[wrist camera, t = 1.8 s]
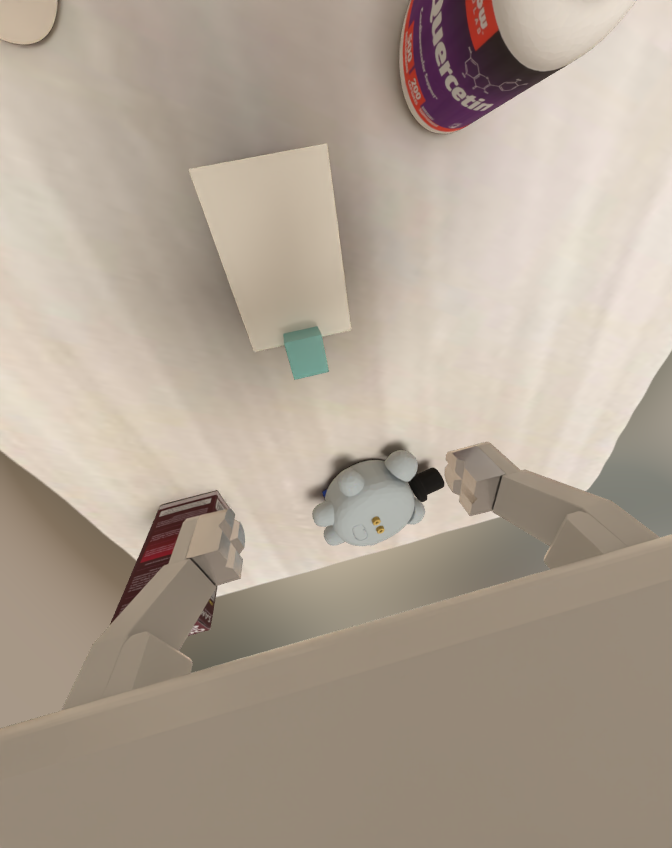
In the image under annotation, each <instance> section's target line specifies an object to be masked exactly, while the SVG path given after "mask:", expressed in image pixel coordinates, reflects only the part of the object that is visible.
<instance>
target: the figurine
mask: <svg viewBox="0 0 672 848" xmlns="http://www.w3.org/2000/svg"><path fill="white" fill-rule="evenodd" d="M417 468H418V463H417V460H416V458H415V457H414V456H413V455H412V454H411V453H410V452H408V451H406V450H398V451H395V452H393V453H391V454H390V455H389V457H388V458H387V459H386V460H385V461H382V460H368V461H364V462H360V463H358V464H355V465H352V466H350V467H349V468H347V469H345V470H343V471H342V472H340V474H338V475H337V476H336V478H335V479H334V480H333V481H332V482H331V484H330V485H329V487H328V489H327V490H325V491H323V492H322V493H323V496H324V497H325V502H323V503H321V504H319V505H317V506H316V507H315V508H314V510H313V519H314V522H315V523H316V525H318V526H321V527H326V526H327V527H326V529H325V530H324V538H325V540H326V541H327V543H328V544H330V545H338V544H341V543H344V542H347V543H348V544H351V545H356V546H367V545H375V544H377V543H379V542H381V541H384V540H386V539H388V538H390V537H391V536H393V535H395V534H396V533H398V532H399V531H400V530H401V529H402V528H404V527H405V526H406V524H416V523H419V522H420V521H421V520H422V519H423V517H424V514H425V509H424V506H423V504H422V503H421V502H424V501H426V500H427V495H428V494H430V493H432V492H434V491H437V490H439V489H441V488H443V487H444V481H443V478H442V476H441V475H440V473H439V472H438V470H437V469H435V468H430V469H428V470H426V471H423V472H421V473H419V474H417V475H416V472H417ZM407 482H408V483H409V485H410V486H409V485H408V483H407ZM412 491H413V492H412ZM413 493H414V495H415V496H416V497H417V498H415V497H414V495H413Z"/></svg>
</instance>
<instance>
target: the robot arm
mask: <svg viewBox="0 0 672 848" xmlns="http://www.w3.org/2000/svg"><path fill="white" fill-rule="evenodd" d="M446 461H447V462H448V465H447V466H446V467H445V474H444V475H445V479H446V482H447V484H448V486H449V488H450V489H451V491H452V492H453V493H455V494H457V495H459V496H460V498H459V502H460V503H461V505H462V506H463V507H464V509H465V510H466V512H467V513H468V514H469V516H472V515H476V514H481V513H485V512H489V511H493V512H494V513H495V514H497V515H499V516H500V517H502V518H503V519H505V520H507V521H508V522H510V523H512V524H514V525H515V526H517V527H518V528H520V529H522V530H523V531H525V532H527V533H528V534H530V535H532V536H533V537H535V538H537V539H538V540H540V541H542V542H543V543H545V544H547V545H548V546H550V547H549V549H548V551H547V553H546V555H545V557H544V563H545V564H546V565H547V566H548V567H549V569H550V570H546V571H543V572H539V573H536V574H532V575H529V576H526V577H522V578H519V579H515V580H512V581H508V582H505V583H501V584H498V585H494V586H491V587H487V588H484V589H481V590H477V591H474V592H470V593H467V594H463V595H460V596H456V597H453V598H449V599H446V600H442V601H439V602H435V603H432V604H428V605H425V606H421V607H418V608H415V609H411V610H408V611H404V612H401V613H398V614H394V615H390V616H387V617H383V618H380V619H376V620H373V621H370V622H366V623H363V624H359V625H356V626H352V627H349V628H345V629H342V630H339V631H335V632H332V633H328V634H324V635H321V636H318V637H314V638H311V639H308V640H304V641H301V642H297V643H293V644H290V645H287V646H283V647H279V648H276V649H272V650H269V651H266V652H263V653H259V654H255V655H252V656H248V657H245V658H241V659H238V660H235V661H231V662H227V663H224V664H221V665H217V666H214V667H210V668H207V669H203V670H200V671H196V672H193V673H191V669H192V663H193V662H192V661H191V659H190V658H188V657H187V656H185V655H184V654H182V653H181V652H179V650H180V648H181V646H182V645H183V643H184V641H185V640H186V638H187V636H188V635H189V633H190V631H191V630H192V628H193V626H194V624H195V623H196V621H197V619H198V618H199V616H200V614H201V613H202V611H203V609H204V607H205V606H206V604H207V602H208V601H209V599H210V597H211V596H212V594H213V592H214V591H215V589H216V586H217V585H221V584H224V583H227V582H231V581H234V580H237V579H241V571H242V563H243V559H242V558H241V556H240V555H239V554H240V553H241V551H242V550H243V549H244V545H245V535H244V530H243V527H242V525H241V523H240V522H239V521H237V520H234V518H235V514H234V512H233V511H232V509H225V510H221V511H216V512H212V513H208V514H203V515H200V516H196V517H192V518H187V519H186V520H185V521H184V522H183V524H182V527H181V530H180V533H179V536H178V538H177V541H176V544H175V547H174V550H173V552H172V555H171V558H170V561H169V564H167V565H164V566H163V567H162V568H161V569H160V570H159V571H158V572H157V574H156V575H155V576H154V577H153V578H152V579H151V580H150V581H149V582H148V584H147V585H146V586H145V587H144V588H143V589H142V590H141V591H140V592H139V594H138V595H137V596H136V597H135V598H134V599H133V600H132V601H131V602H130V604H129V605H128V606H127V607H126V608H125V609H124V610H123V611H122V612H121V613H120V615H119V616H118V617H117V618H116V619H115V620H114V621H113V622H112V623H111V625H110V626H109V627H108V628H107V629H106V630H105V631H104V632H103V633H102V635H101V636H100V637H99V638H98V639H97V640H96V641H95V642H94V644H92V647H91V649H90V651H89V653H88V655H87V657H86V659H85V661H84V664H83V666H82V668H81V670H80V672H79V674H78V676H77V678H76V681H75V682H74V685H73V687H72V689H71V691H70V693H69V695H68V697H67V699H66V701H65V704H64V706H63V708H62V710H61V711H58V712H54V713H51V714H48V715H44V716H41V717H37V718H34V719H30V720H27V721H23V722H20V723H17V724H13V725H9V726H6V727H2V728H0V848H672V534H671V535H668V536H664V537H661V538H660V537H659V536H657V535H656V534H655V533H653V532H652V531H651V530H649V529H648V528H647V527H645V526H644V525H643V524H641V523H640V522H639V521H637V520H636V519H635V518H633V517H632V516H631V515H629V514H628V513H627V512H626V511H624V510H623V509H622V508H620V507H619V506H618V505H616V504H615V503H614V502H612V501H610V500H607V499H605V498H602V497H599V496H596V495H594V494H591V493H588V492H585V491H583V490H580V489H577V488H574V487H572V486H569V485H566V484H563V483H561V482H558V481H555V480H552V479H550V478H547V477H544V476H541V475H538V474H536V473H533V472H530V471H527V470H520V469H519V468H518V467H516V466H515V465H514V464H513V463H512V462H511V461H510V460H509V459H508V458H506V457H505V456H504V455H503V454H502V453H501V452H500V451H499V450H498V449H496V448H495V447H494V446H493V445H492V444H491V443H489V442H483V443H479V444H476V445H473V446H468V447H464V448H460V449H457V450H453V451H449V452H448V453H447V454H446Z"/></svg>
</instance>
